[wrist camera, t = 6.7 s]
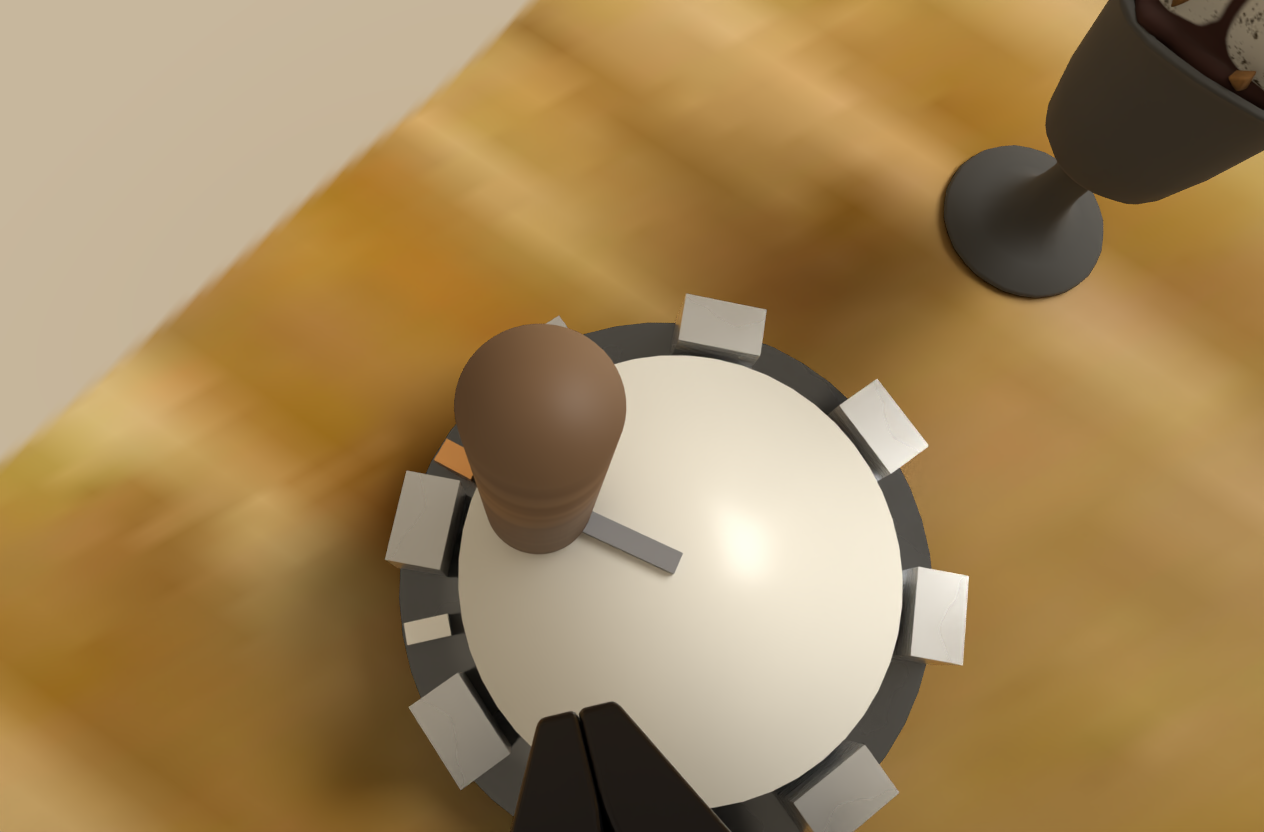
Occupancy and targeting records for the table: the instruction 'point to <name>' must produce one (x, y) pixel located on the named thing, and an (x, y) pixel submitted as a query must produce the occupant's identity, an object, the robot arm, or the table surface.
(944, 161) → the table surface
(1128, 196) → the sundae
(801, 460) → the dial
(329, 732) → the table surface
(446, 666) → the dial plate
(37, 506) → the table surface
